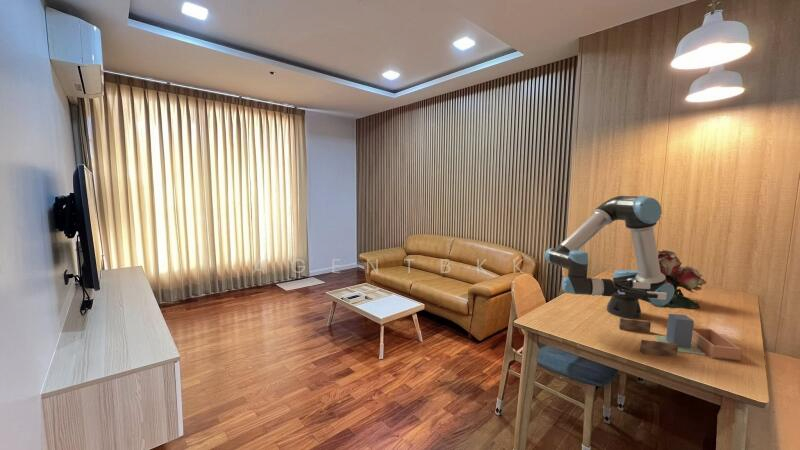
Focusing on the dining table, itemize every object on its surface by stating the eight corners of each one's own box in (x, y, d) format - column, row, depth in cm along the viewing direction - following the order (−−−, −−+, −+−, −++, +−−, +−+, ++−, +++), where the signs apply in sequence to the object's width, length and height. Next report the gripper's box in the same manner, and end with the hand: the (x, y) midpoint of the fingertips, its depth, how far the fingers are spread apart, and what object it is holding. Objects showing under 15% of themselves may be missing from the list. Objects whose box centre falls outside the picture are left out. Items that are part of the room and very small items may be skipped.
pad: (685, 339, 143) (685, 338, 143) (705, 355, 130) (705, 354, 130) (653, 335, 146) (653, 335, 146) (670, 351, 133) (670, 350, 133)
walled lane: (648, 331, 151) (649, 320, 150) (676, 357, 128) (678, 345, 127) (618, 328, 154) (619, 317, 154) (641, 353, 131) (642, 341, 131)
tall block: (682, 341, 140) (685, 315, 139) (690, 348, 134) (693, 320, 133) (666, 339, 142) (668, 313, 140) (673, 346, 136) (676, 319, 134)
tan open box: (709, 340, 142) (711, 329, 142) (740, 361, 125) (741, 349, 125) (685, 337, 145) (686, 326, 144) (711, 358, 128) (713, 346, 127)
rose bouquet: (710, 308, 179) (717, 255, 175) (658, 308, 179) (664, 255, 175) (671, 293, 205) (676, 246, 201) (625, 293, 204) (630, 246, 200)
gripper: (592, 286, 155) (643, 289, 150) (610, 305, 132) (672, 310, 126) (593, 271, 155) (644, 274, 149) (612, 287, 131) (674, 291, 125)
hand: (657, 290), depth 137 cm, fingers open, 13 cm apart
